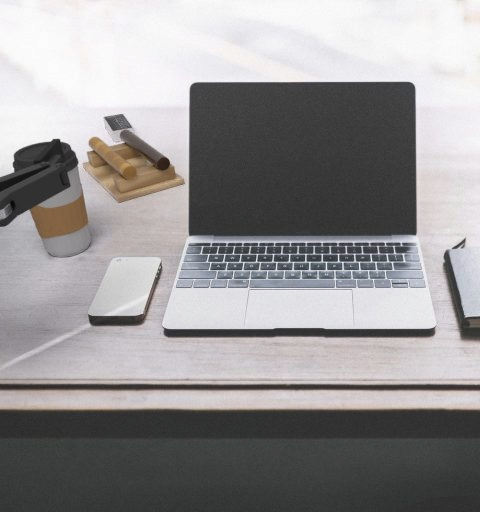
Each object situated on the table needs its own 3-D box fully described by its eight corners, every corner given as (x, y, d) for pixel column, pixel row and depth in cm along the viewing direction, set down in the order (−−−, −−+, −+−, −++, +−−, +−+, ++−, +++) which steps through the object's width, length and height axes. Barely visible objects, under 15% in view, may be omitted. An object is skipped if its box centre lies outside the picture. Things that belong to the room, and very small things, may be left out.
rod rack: (184, 183, 109) (180, 153, 106) (118, 202, 103) (111, 171, 100) (143, 152, 123) (138, 125, 120) (83, 167, 117) (76, 139, 114)
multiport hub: (114, 142, 128) (112, 131, 127) (104, 126, 136) (102, 116, 135) (135, 138, 130) (133, 127, 128) (125, 123, 138) (123, 113, 137)
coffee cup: (109, 245, 91) (85, 149, 83) (54, 268, 86) (24, 168, 78) (82, 227, 96) (57, 135, 88) (29, 248, 91) (-2, 152, 83)
